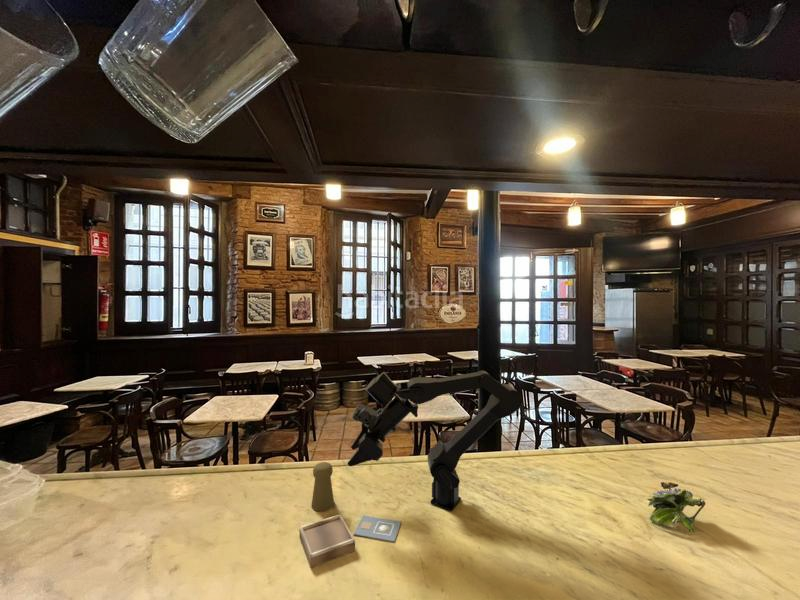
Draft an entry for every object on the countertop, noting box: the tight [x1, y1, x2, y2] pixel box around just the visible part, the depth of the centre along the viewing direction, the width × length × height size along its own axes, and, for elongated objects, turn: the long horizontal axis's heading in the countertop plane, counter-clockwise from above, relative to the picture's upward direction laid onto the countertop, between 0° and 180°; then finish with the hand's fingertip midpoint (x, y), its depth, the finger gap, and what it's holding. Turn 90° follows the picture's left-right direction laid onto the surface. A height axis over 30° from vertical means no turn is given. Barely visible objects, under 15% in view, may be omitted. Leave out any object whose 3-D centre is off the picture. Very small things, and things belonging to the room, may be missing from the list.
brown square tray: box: [299, 513, 356, 568], centre depth 80 cm, size 10×10×3 cm
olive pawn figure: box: [311, 461, 335, 513], centre depth 94 cm, size 6×6×11 cm
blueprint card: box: [352, 515, 402, 543], centre depth 85 cm, size 10×7×1 cm
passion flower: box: [646, 481, 706, 533], centre depth 87 cm, size 11×11×12 cm
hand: (350, 456), depth 94 cm, fingers open, 9 cm apart
